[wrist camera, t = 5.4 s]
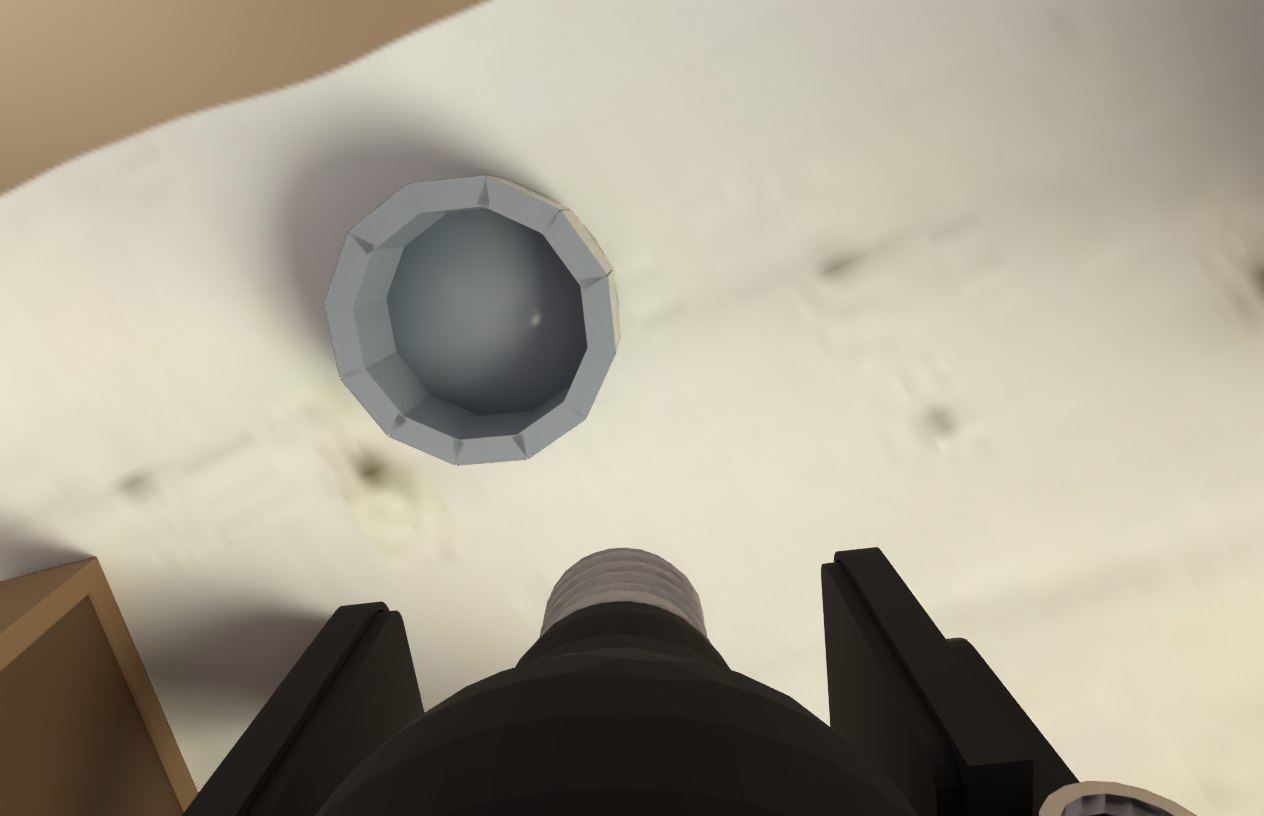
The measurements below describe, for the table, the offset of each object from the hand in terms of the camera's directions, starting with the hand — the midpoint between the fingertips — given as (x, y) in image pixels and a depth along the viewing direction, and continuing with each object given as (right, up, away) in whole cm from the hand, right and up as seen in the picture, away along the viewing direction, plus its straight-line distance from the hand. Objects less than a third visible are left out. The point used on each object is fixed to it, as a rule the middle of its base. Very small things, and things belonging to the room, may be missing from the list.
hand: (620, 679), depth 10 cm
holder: (-5, +7, +17) cm, 19 cm away
